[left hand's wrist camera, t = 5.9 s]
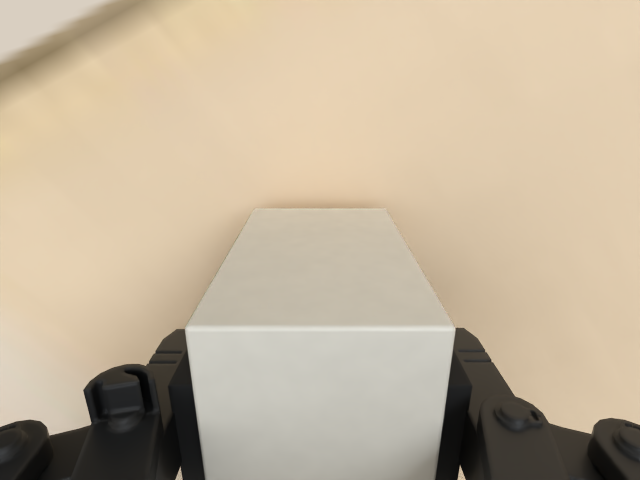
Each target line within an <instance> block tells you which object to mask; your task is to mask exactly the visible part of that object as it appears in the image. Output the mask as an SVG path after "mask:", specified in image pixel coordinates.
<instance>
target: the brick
mask: <svg viewBox="0 0 640 480" xmlns="http://www.w3.org/2000/svg"><path fill="white" fill-rule="evenodd" d="M455 330H456V329H455V326H454V324H453V322H452V321H451V319H450V317H449V316H448V314H447V312H446V310H445V309H444V307H443V305H442V304H441V302H440V300H439V298H438V297H437V295H436V293H435V292H434V290H433V288H432V286H431V285H430V283H429V281H428V280H427V278H426V276H425V274H424V273H423V271H422V269H421V268H420V266H419V264H418V262H417V261H416V259H415V257H414V256H413V254H412V252H411V250H410V249H409V247H408V245H407V244H406V242H405V240H404V238H403V237H402V235H401V233H400V232H399V230H398V228H397V227H396V225H395V223H394V221H393V220H392V218H391V216H390V215H389V213H388V211H387V209H385V208H255V209H254V210H253V212H252V213H251V215H250V217H249V218H248V220H247V222H246V224H245V225H244V227H243V229H242V230H241V232H240V234H239V236H238V237H237V239H236V241H235V242H234V244H233V246H232V248H231V249H230V251H229V253H228V254H227V256H226V258H225V260H224V261H223V263H222V265H221V267H220V268H219V270H218V272H217V273H216V275H215V277H214V279H213V280H212V282H211V284H210V285H209V287H208V289H207V291H206V292H205V294H204V296H203V297H202V299H201V301H200V303H199V304H198V306H197V308H196V310H195V311H194V313H193V315H192V316H191V318H190V320H189V322H188V323H187V325H186V327H185V334H186V341H187V349H188V356H189V363H190V371H191V378H192V386H193V393H194V401H195V408H196V415H197V423H198V430H199V438H200V445H201V452H202V460H203V467H204V475H205V480H435V478H436V470H437V463H438V455H439V448H440V441H441V433H442V426H443V419H444V411H445V404H446V396H447V389H448V382H449V374H450V367H451V359H452V352H453V345H454V337H455Z"/></svg>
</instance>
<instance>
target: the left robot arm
mask: <svg viewBox="0 0 640 480" xmlns="http://www.w3.org/2000/svg"><path fill="white" fill-rule="evenodd" d="M455 329H456V330H455V337H454V345H453V352H452V359H451V367H450V374H449V382H448V389H447V396H446V404H445V411H444V419H443V426H442V433H441V441H440V448H439V455H438V463H437V470H436V478H435V480H457V479H458V473H459V467H460V466H461V468H462V471H463V473H464V476H465V479H466V480H640V425H638V424H635V423H632V422H629V421H626V420H621V419H614V418H608V419H603V420H599V421H598V422H597V423H596V424H595V425H594V428H593V431H592V434H588V433H584V432H580V431H576V430H571V429H567V428H563V427H559V426H556V425H553V424H550V423H549V422H548V421H547V419H546V418H545V416H544V415H543V413H542V412H541V411H540V410H538V409H537V408H536V407H535V406H534V405H532V404H530V403H529V402H527V401H525V400H523V399H521V398H518V397H515V396H514V394H513V393H512V391H511V390H510V388H509V386H508V385H507V383H506V382H505V380H504V379H503V377H502V376H501V374H500V373H499V371H498V369H497V368H496V366H495V365H494V363H493V362H491V359H490V357H489V356H488V354H487V352H485V349H484V348H483V346H482V345H481V343H480V342H479V340H478V339H477V338H476V337H475V336H474V335H472V334H471V333H470V332H468V331H467V330H466V329H464V328H455ZM83 391H84V395H85V399H86V403H87V407H88V411H89V415H90V419H91V425H89V426H86V427H83V428H80V429H76V430H72V431H67V432H63V433H59V434H55V435H50V436H49V433H48V430H47V427H46V426H45V425H44V424H43V423H42V422H40V421H35V420H24V421H17V422H14V423H11V424H8V425H5V426H2V427H0V480H175V479H176V476H177V474H178V471H179V468H180V466H181V471H182V478H183V480H205V475H204V467H203V460H202V452H201V445H200V438H199V430H198V423H197V415H196V408H195V401H194V393H193V386H192V378H191V371H190V363H189V356H188V349H187V341H186V334H185V329H176V330H175V331H174V332H172V333H171V334H170V335H168V336H167V337H166V338H164V339H163V340H162V342H161V344H160V345H159V347H158V348H157V350H156V353H155V354H154V355H153V356H152V358H151V359H150V361H149V364H147V365H146V366H144V365H140V364H126V365H122V366H118V367H114V368H111V369H109V370H107V371H105V372H103V373H100V374H99V375H98V376H96V377H95V378H94V379H92V380H91V381H90V382H89V383H88V385H87V386H86V387H85V389H84V390H83Z"/></svg>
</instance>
